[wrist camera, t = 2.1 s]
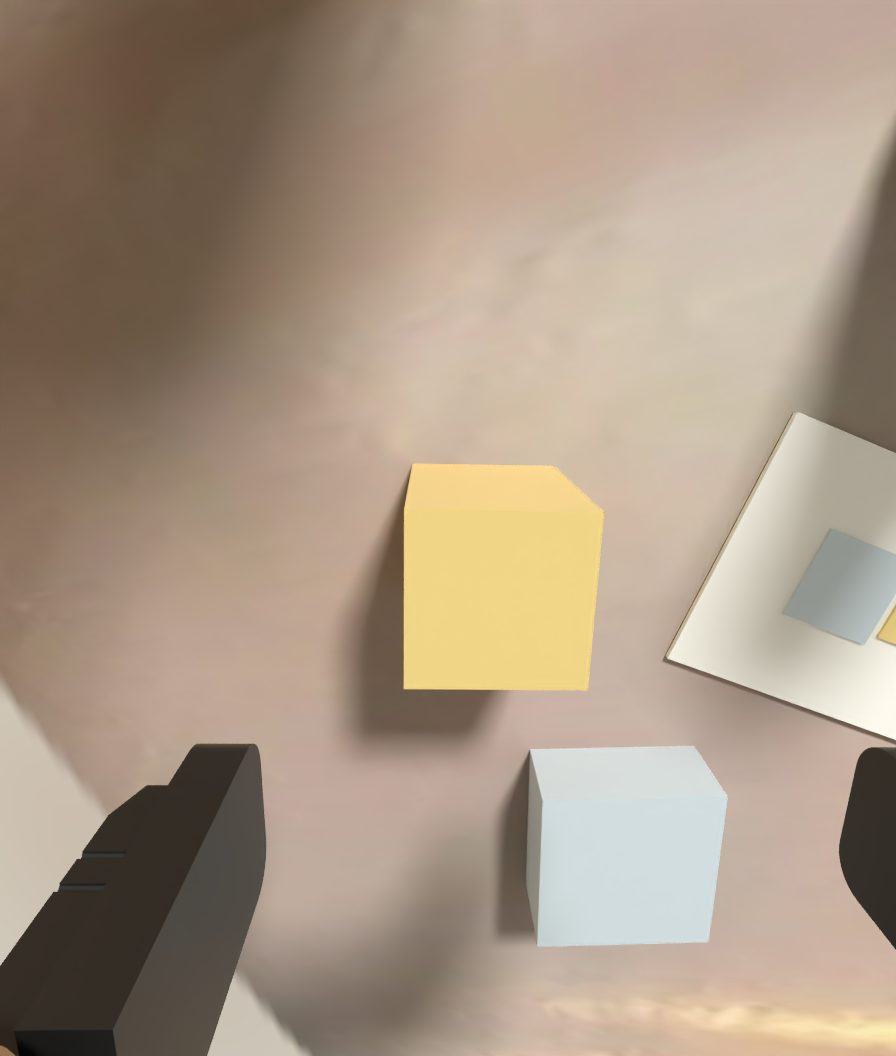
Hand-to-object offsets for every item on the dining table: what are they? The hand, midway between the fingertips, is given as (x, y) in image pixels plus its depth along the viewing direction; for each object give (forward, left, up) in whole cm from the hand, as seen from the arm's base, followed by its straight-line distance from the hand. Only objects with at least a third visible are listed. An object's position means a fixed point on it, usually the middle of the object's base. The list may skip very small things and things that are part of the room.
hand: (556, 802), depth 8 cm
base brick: (+10, -7, -13) cm, 18 cm away
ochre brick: (0, 0, -13) cm, 13 cm away
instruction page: (+13, +5, -12) cm, 19 cm away
